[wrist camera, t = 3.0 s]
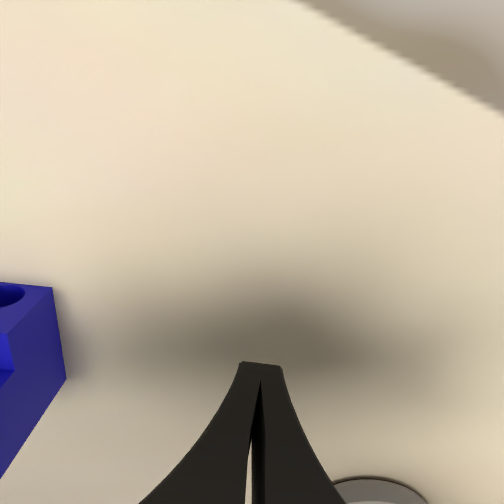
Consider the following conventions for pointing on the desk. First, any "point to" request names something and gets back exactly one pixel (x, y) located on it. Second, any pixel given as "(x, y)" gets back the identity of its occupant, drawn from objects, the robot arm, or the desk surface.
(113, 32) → the desk surface
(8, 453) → the cable clip
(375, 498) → the travel mug
